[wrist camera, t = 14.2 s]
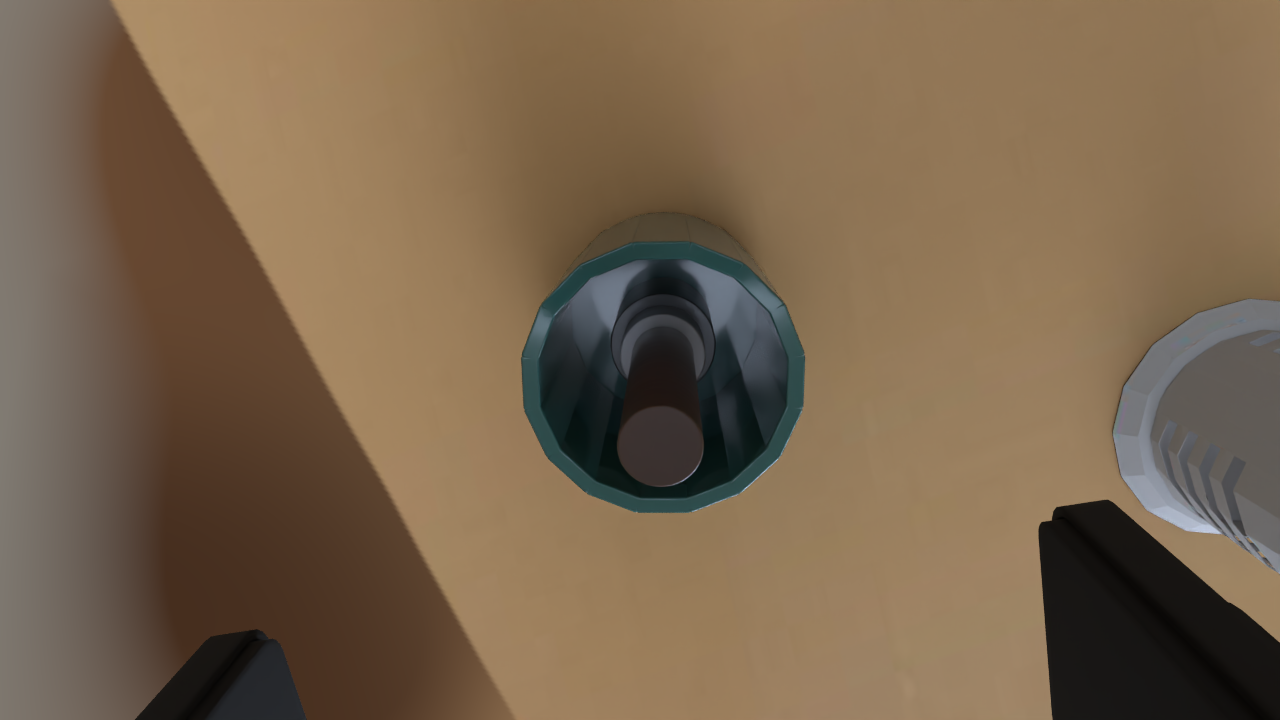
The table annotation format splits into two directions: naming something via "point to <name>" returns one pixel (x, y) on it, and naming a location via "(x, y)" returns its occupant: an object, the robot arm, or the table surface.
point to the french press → (1209, 426)
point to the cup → (728, 393)
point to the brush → (662, 379)
